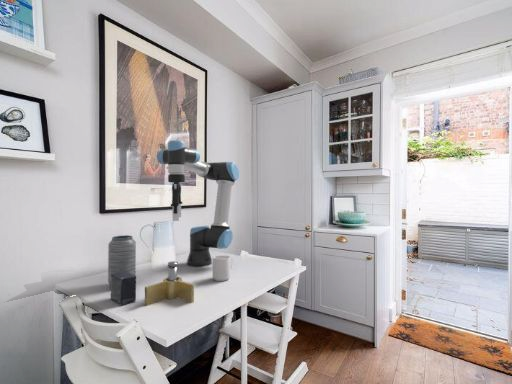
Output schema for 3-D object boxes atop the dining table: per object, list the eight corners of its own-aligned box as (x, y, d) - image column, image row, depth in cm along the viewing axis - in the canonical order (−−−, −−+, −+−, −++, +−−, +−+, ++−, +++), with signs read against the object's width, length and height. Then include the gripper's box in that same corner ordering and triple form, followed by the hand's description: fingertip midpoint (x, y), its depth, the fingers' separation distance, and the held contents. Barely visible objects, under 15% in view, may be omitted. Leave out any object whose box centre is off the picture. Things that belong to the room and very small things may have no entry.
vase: (105, 284, 128) (106, 236, 128) (131, 279, 136) (131, 234, 136) (111, 291, 119) (111, 239, 120) (138, 285, 127) (139, 237, 127)
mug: (220, 283, 132) (220, 260, 132) (208, 279, 138) (209, 257, 138) (237, 277, 141) (237, 256, 141) (226, 273, 147) (226, 253, 147)
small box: (137, 301, 109) (137, 275, 109) (120, 306, 104) (120, 279, 104) (126, 294, 116) (126, 270, 116) (109, 299, 111) (110, 273, 111)
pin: (168, 294, 117) (168, 261, 117) (177, 293, 118) (178, 261, 118) (166, 297, 113) (167, 264, 113) (176, 296, 114) (177, 263, 114)
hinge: (151, 293, 117) (151, 277, 117) (195, 291, 121) (195, 275, 121) (144, 305, 105) (144, 287, 105) (193, 302, 108) (193, 285, 108)
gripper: (171, 175, 139) (171, 216, 139) (164, 172, 114) (165, 222, 115) (186, 175, 140) (186, 215, 141) (183, 172, 116) (183, 222, 116)
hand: (177, 219), depth 128 cm, fingers open, 13 cm apart
